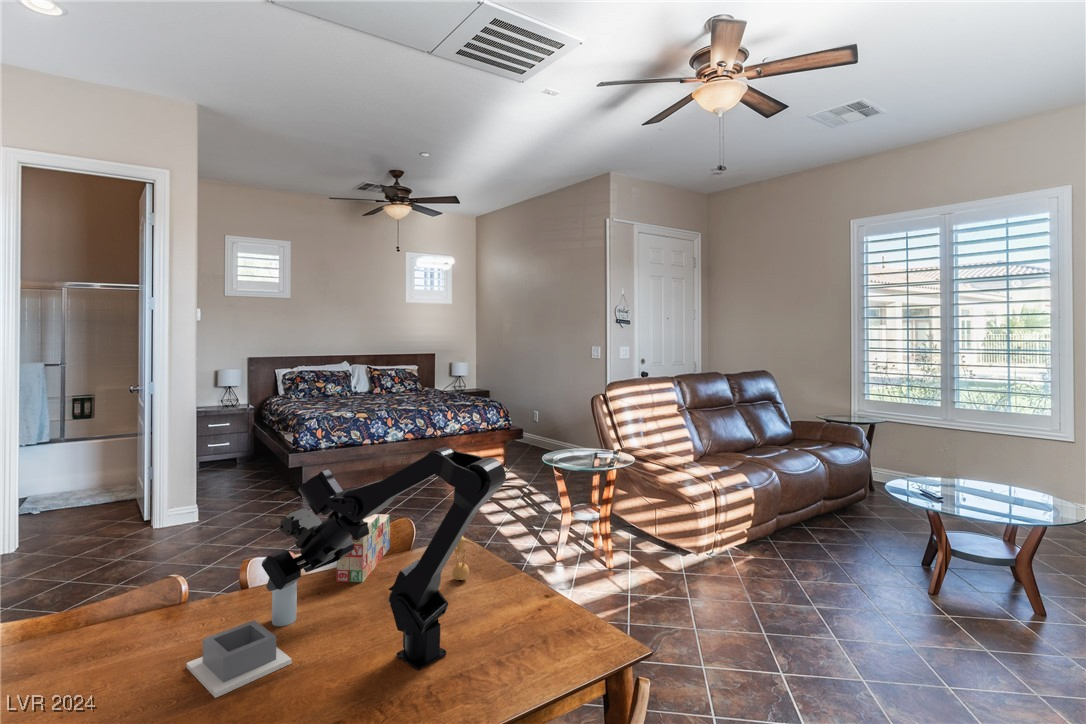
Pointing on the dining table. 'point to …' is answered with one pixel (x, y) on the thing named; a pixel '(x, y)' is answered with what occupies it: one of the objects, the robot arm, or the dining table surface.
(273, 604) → the copper-capped grey cylinder
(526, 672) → the dining table surface
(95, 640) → the dining table surface
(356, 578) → the stack of blocks
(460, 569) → the figurine
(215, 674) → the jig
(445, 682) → the dining table surface
